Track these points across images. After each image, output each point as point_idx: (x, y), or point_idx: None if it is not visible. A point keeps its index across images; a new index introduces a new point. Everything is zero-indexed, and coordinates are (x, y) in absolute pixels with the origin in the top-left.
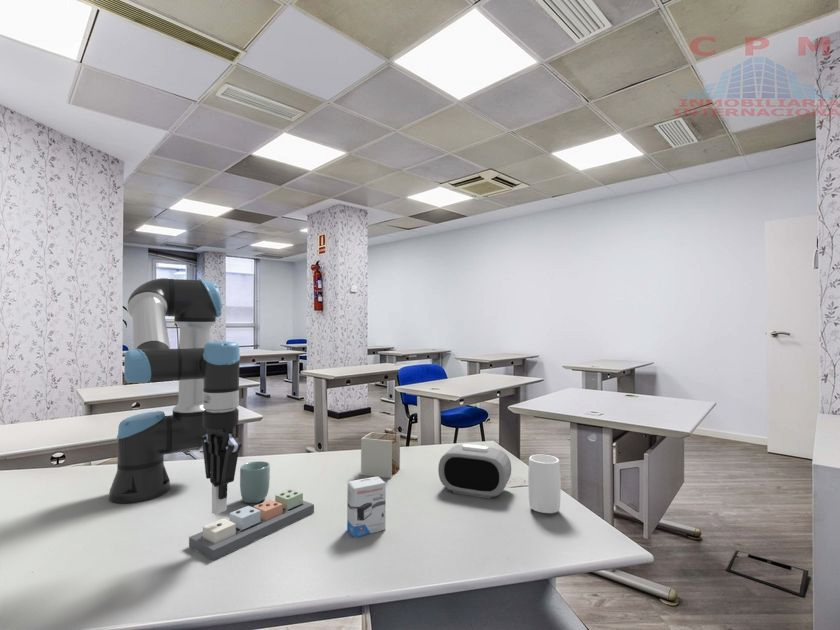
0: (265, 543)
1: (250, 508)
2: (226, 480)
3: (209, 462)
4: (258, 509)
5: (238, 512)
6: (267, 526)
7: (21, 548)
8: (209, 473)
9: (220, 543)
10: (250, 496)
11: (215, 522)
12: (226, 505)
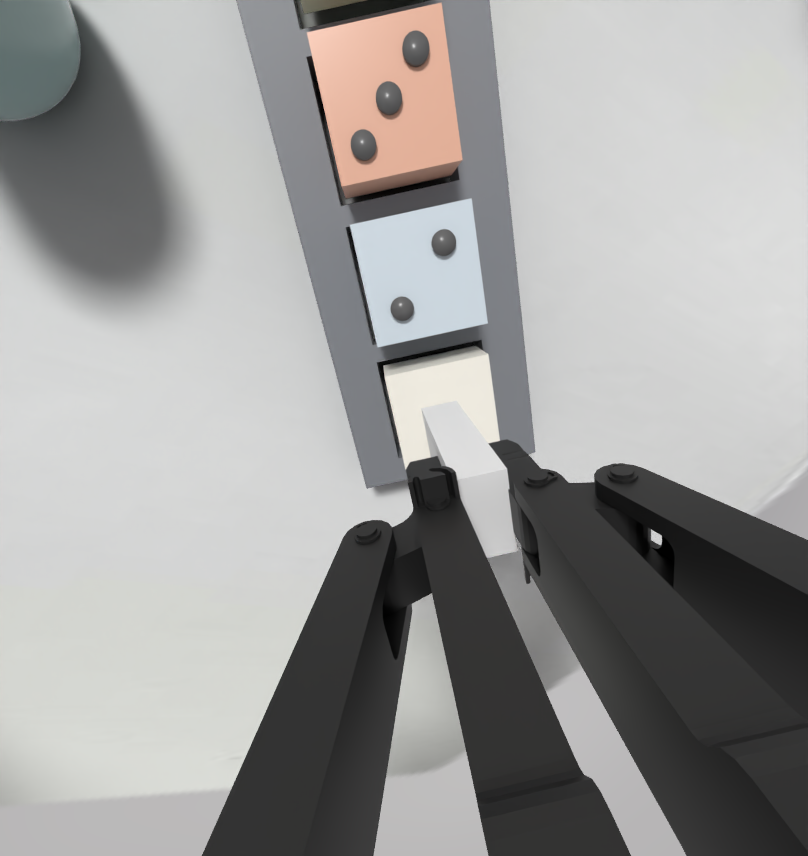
0: (556, 245)
1: (398, 232)
2: (650, 539)
3: (387, 715)
4: (389, 177)
5: (412, 312)
6: (506, 194)
7: (62, 783)
8: (409, 621)
9: (507, 419)
10: (53, 81)
11: (404, 419)
12: (462, 409)
